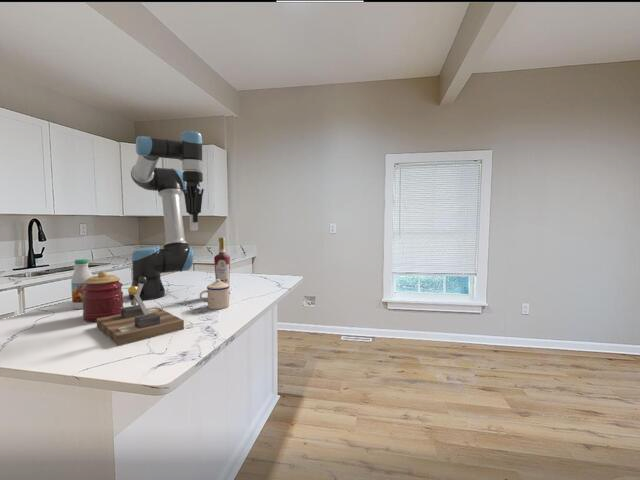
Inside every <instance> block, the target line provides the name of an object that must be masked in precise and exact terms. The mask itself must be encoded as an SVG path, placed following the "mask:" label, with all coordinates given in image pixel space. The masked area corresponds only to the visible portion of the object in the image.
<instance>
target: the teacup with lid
mask: <svg viewBox="0 0 640 480" xmlns="http://www.w3.org/2000/svg"><path fill="white" fill-rule="evenodd" d="M206 289H207V290H203V291H201V292H200V293H199V299H200V301H201V302H203V303H207V308H208V309H210V310H223V309H227V308H229V306H230V294H229V292H230V284H229V285H228V284H226V283H224V282H221V280H220V279H217V280H216V279H215V281H214V282H212V283H211V284H208V285H207V287H206ZM204 293H207V300H204V299H203V297H202V295H203V294H204Z"/></svg>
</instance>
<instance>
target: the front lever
mask: <svg viewBox="0 0 640 480" xmlns="http://www.w3.org/2000/svg"><path fill="white" fill-rule="evenodd" d="M127 291H128V294H129V293H130V294H131V295H133V296H134V298H135V299H136V301H137V303H136V304H137V305H139V306H140V308H141V310H142V312H143V314H144V315H147V314H148V313H149V312H148V311H147V309H148V308H147V307H146V305H145V303H144V302H143V300H141V298H140V296H139V294H138V293H137V292H138V288H137V287H136V286H130V287H128V290H127Z"/></svg>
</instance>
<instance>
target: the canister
mask: <svg viewBox="0 0 640 480" xmlns="http://www.w3.org/2000/svg"><path fill="white" fill-rule="evenodd" d="M120 280H121V278H120V277H118V276H116V275H113V274H107V272H106V271H105V270H100V271H98V273H97V275H94V276H93V277H89V278H88V279H87V280H85V281H84V283H86V284H85V286H83V287H82V288H81V289H82V290H83V296H82V299H83V309H82V317H83V320H84V321H86V322H91V323H92V322H93V323H95V322H96V323H97V320H96V319H98V318H103V317H108V316H113V315H118V314H121V308H124V301H123V300H124V297H123V295H124V292H123V291H122V286H123V283H121V281H120Z"/></svg>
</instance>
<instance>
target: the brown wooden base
mask: <svg viewBox="0 0 640 480" xmlns="http://www.w3.org/2000/svg"><path fill="white" fill-rule="evenodd" d="M146 309H147V311H148V312H149V313H148V314H147V315H144V314H143V312H142V310H141V308H140V306H139V305H138V304H136V306H133V305H130V306H125V307H124V306H123V308H121V314H118V315H113V316H108V317H103V318H98V319H96V320H97V322H96V328H97V329H98V330H99V331H101V332H102V333H103V334H104V335H105V336H106V337H107V338H108V339H110V341H112V342H113V343H114V344H116V345H117V346H118V347H119V346H122V345H126V344H130V343H134V342H137V341H138V342H139V341H142V340H145V339H149V338H154V337H157V336H161V335H165V334H169V333H172V332H173V333H174V332H177V331H181V330H184V329H185V321H184V319H182V318H180V317H178V316H176V315H174V314H172V313H170V312H168V311H166V310H164V309H162V308H159V307H158V306H156V307H151V308H150V307H149V308H146Z"/></svg>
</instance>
